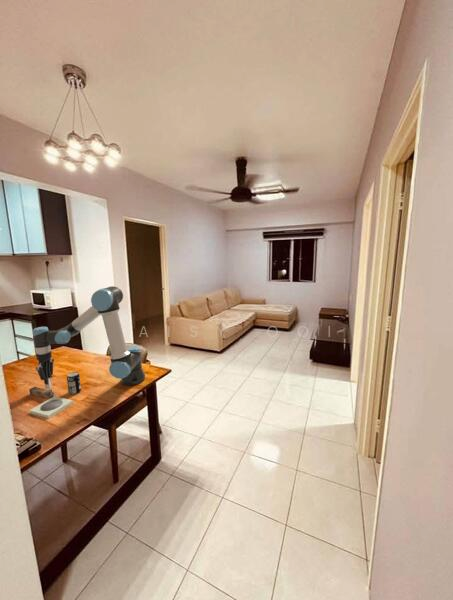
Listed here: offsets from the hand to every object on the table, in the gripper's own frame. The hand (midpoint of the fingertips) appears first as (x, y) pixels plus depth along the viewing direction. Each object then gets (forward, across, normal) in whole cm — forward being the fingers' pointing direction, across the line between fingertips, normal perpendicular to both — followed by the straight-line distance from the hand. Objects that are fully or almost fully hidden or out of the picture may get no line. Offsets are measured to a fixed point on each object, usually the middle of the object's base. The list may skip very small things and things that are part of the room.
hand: (48, 388), depth 154 cm
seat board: (+1, +18, +14) cm, 23 cm away
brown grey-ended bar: (+1, +6, 0) cm, 6 cm away
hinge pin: (+1, +9, +8) cm, 12 cm away
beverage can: (+2, +3, +18) cm, 18 cm away
